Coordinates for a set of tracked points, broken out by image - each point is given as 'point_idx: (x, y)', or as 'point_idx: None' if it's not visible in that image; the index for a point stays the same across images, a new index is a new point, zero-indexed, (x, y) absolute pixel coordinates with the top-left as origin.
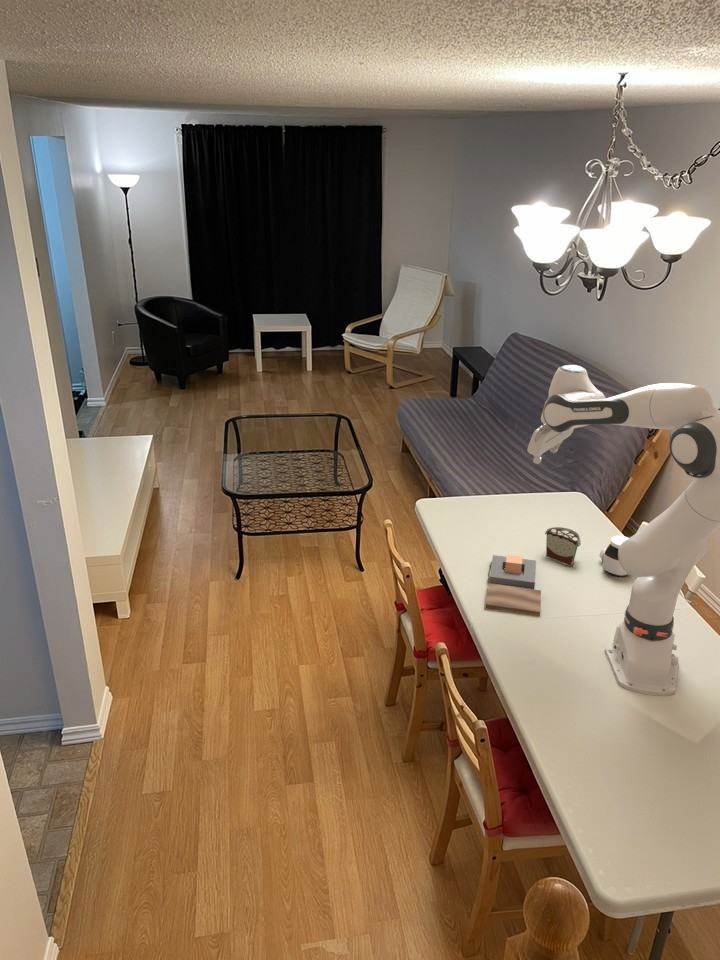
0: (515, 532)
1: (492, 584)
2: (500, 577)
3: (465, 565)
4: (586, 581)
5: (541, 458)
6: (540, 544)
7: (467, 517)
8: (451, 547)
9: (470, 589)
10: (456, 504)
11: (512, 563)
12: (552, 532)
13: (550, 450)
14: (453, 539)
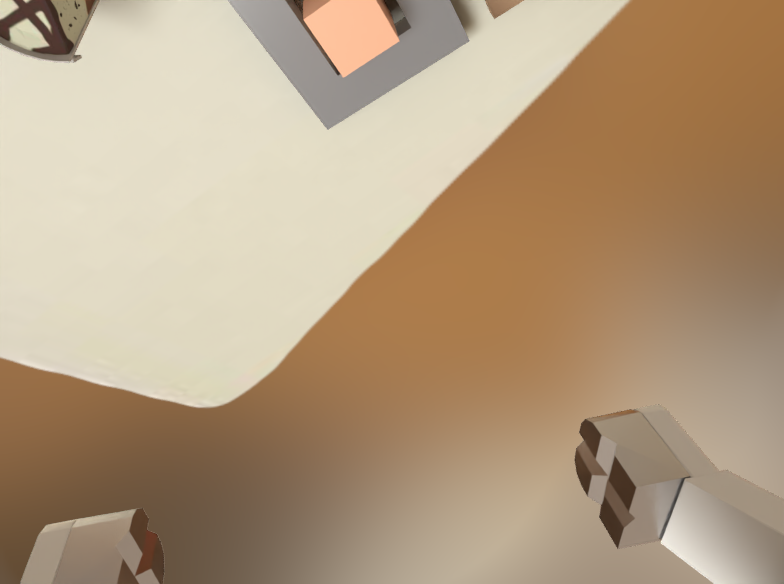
0: (90, 188)
1: (492, 3)
2: (448, 5)
3: (415, 155)
4: None
5: (656, 483)
6: (53, 74)
7: (176, 318)
8: (356, 242)
9: (539, 49)
10: (150, 369)
11: (384, 15)
12: (47, 30)
13: (160, 565)
14: (313, 266)
